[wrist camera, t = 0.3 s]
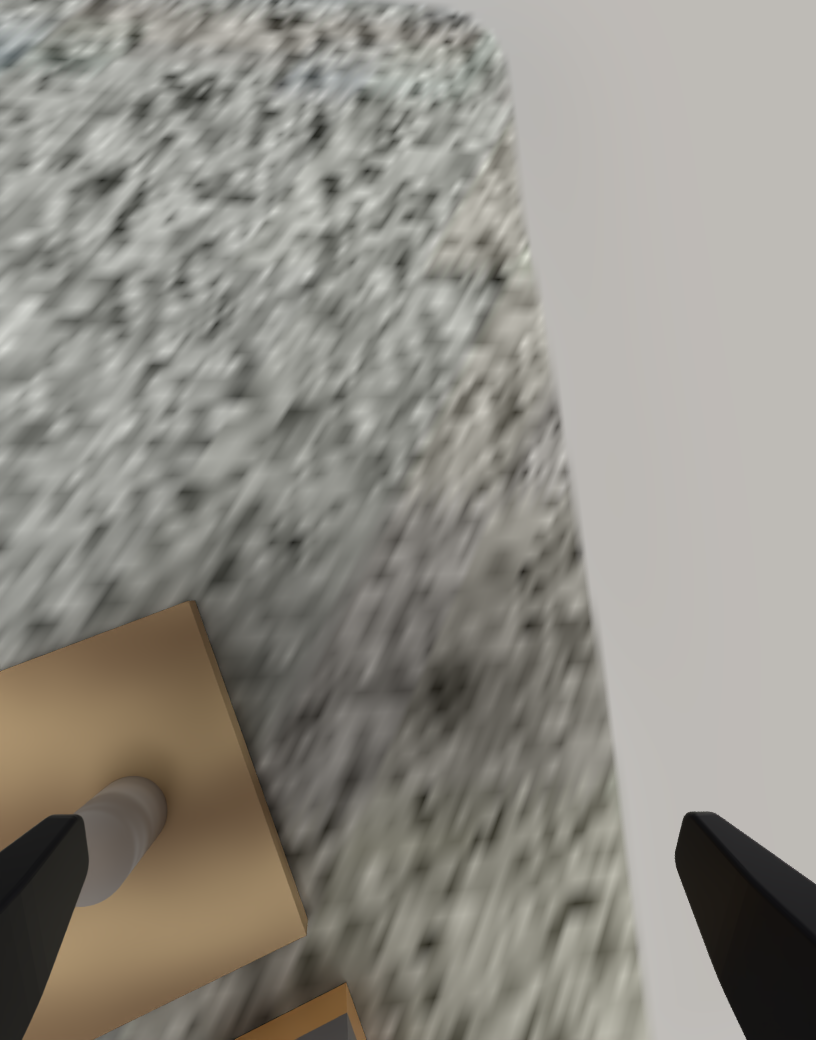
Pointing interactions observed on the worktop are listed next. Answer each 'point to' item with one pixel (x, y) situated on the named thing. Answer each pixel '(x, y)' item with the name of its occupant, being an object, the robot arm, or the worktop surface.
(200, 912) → the pin board
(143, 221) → the worktop surface
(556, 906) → the worktop surface
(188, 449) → the worktop surface
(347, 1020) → the sleeve
